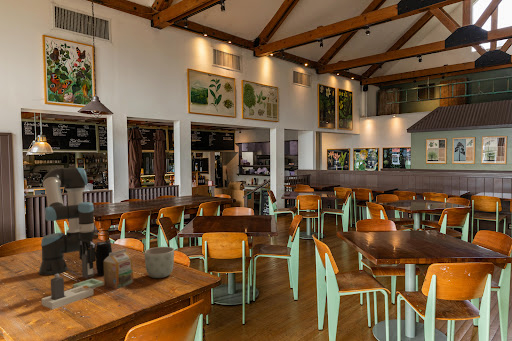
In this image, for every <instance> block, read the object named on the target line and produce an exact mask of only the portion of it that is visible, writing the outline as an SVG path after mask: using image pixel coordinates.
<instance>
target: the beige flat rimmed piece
mask: <svg viewBox="0 0 512 341" xmlns="http://www.w3.org/2000/svg"><path fill="white" fill-rule="evenodd" d="M92 296H94V288H93V289H92V288H89V286H83V285H82V286H79V287H76V288H69V289H67V290H64V297H63V298H60V299H57V300H53V299H51V295H49V296H46V297H43V298H41V306H43V307H45V308H47V309H50V310H55V309H58V308H61V307H64V306H66V305H69V304H72V303H75V302H78V301H81V300H83V299H86V298H89V297H92Z"/></svg>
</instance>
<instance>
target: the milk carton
mask: <svg viewBox="0 0 512 341" xmlns="http://www.w3.org/2000/svg"><path fill="white" fill-rule="evenodd" d="M133 263H134V262H133V257H132V256H131V255H130V253H128V251H127V249H126V248H123V249H120V250H116V251H112V253H109V256H108V257H107V258H106V259H105V260H104V275H103V282H104V285H103V286H104V287H107V288H111V289H115V290H118V289H121V288H123V287H127V286H129V285H131V284H134V265H133Z"/></svg>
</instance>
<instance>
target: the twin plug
mask: <svg viewBox="0 0 512 341" xmlns="http://www.w3.org/2000/svg"><path fill="white" fill-rule="evenodd" d="M64 291H65V282H64V277H62V276H60V273H59V274H54V277H53V278H50V296H51V299H53V300H57V299H60V298H63V297H64Z"/></svg>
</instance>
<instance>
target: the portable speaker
mask: <svg viewBox="0 0 512 341" xmlns="http://www.w3.org/2000/svg"><path fill="white" fill-rule="evenodd" d="M95 244H96V261H95V267H96V271H97V276H100V277H102V276H104V260H105V259H106V258H107V257H108V256H109V253H112V252H113V249H112V244H111V241H110V240H105V241H97V242H96V243H95Z"/></svg>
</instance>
